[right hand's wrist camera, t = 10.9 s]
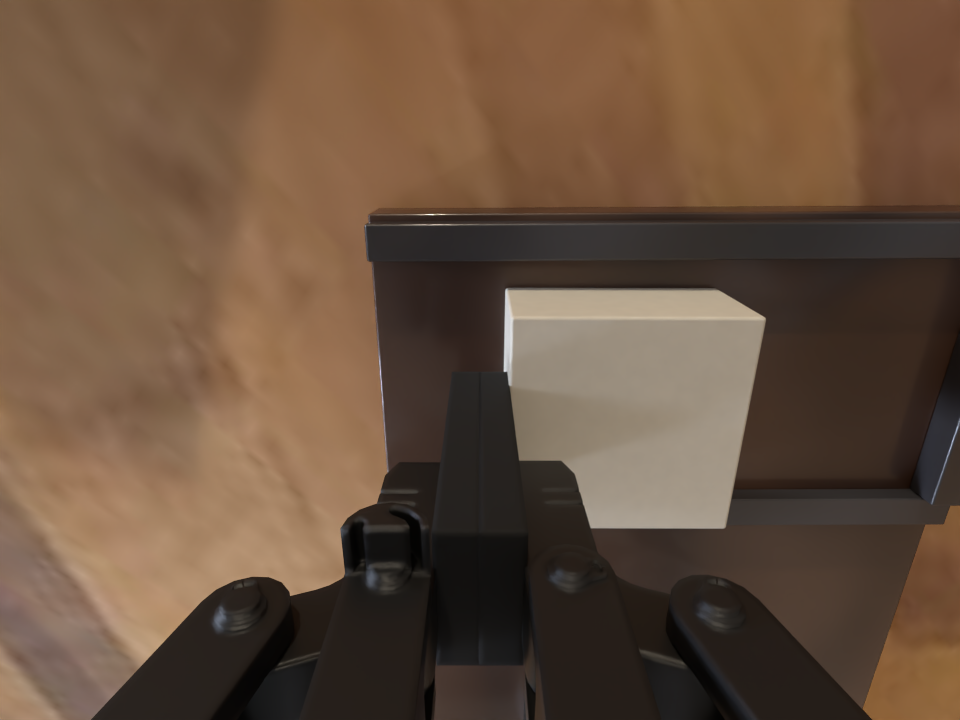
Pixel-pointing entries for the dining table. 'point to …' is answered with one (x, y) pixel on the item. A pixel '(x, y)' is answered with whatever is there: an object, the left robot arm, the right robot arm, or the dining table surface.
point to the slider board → (773, 406)
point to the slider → (635, 396)
